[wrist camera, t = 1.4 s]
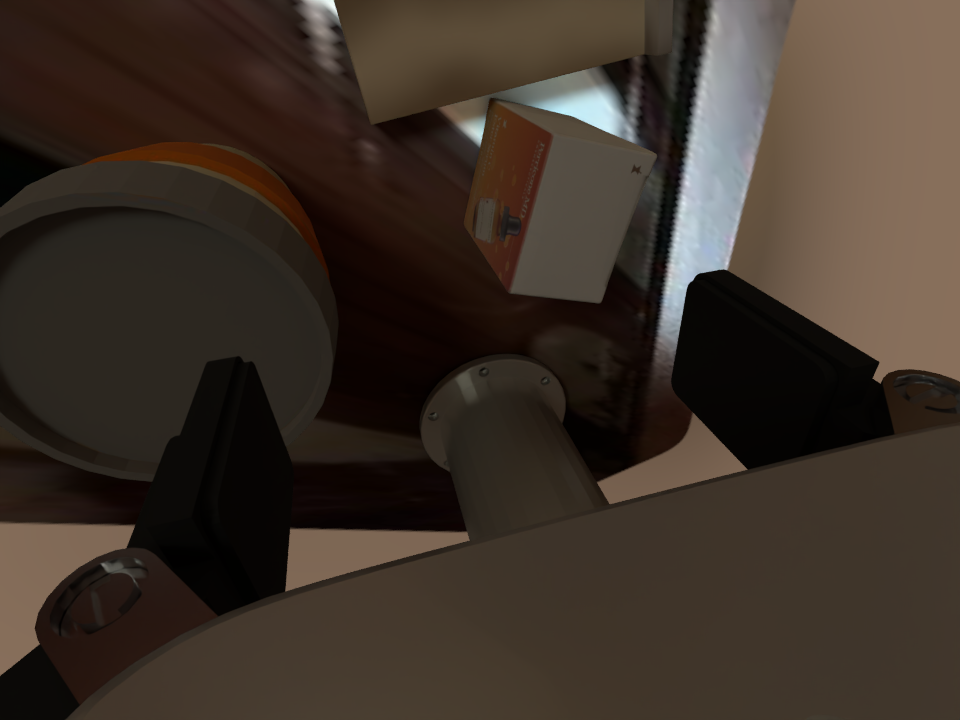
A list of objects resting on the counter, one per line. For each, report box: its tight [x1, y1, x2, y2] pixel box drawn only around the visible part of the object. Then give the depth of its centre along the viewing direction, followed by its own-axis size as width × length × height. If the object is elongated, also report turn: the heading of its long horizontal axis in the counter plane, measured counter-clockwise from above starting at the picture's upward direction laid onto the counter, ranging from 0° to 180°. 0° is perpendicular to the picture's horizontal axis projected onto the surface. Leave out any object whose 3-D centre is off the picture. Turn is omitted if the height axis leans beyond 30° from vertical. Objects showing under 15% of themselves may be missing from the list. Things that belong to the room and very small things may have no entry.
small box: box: [464, 98, 657, 303], centre depth 29 cm, size 8×6×10 cm
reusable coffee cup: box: [0, 142, 339, 482], centre depth 24 cm, size 12×13×15 cm
